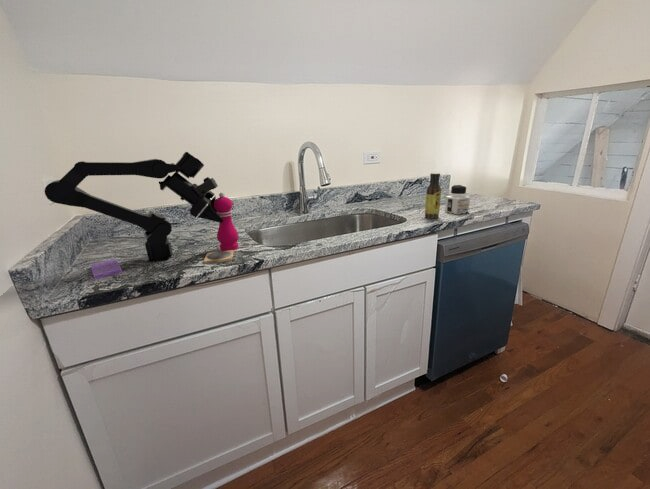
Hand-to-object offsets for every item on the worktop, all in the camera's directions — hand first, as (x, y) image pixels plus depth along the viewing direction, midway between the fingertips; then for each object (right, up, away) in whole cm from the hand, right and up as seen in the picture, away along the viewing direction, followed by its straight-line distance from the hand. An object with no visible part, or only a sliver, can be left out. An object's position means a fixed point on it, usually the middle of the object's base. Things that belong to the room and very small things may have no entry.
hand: (224, 218), depth 107 cm
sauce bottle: (+84, +3, +36) cm, 92 cm away
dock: (0, -13, -5) cm, 14 cm away
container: (+99, +7, +43) cm, 108 cm away
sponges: (-32, -18, -12) cm, 39 cm away
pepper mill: (+1, -11, +3) cm, 11 cm away
